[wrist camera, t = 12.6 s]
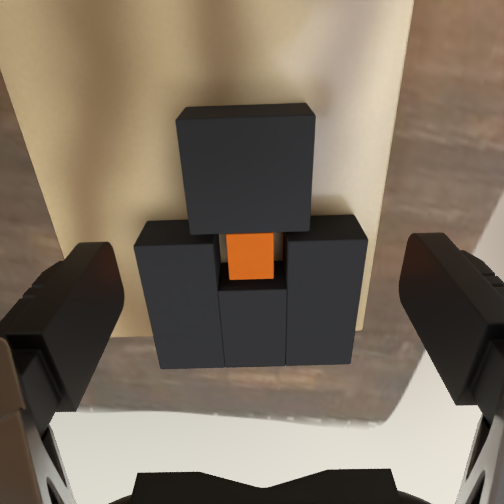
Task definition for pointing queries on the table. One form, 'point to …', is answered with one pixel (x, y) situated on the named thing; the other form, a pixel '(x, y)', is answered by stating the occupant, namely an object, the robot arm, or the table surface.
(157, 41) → the board
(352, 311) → the dark grey u-shaped block
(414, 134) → the table surface
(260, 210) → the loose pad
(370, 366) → the table surface
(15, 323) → the robot arm
